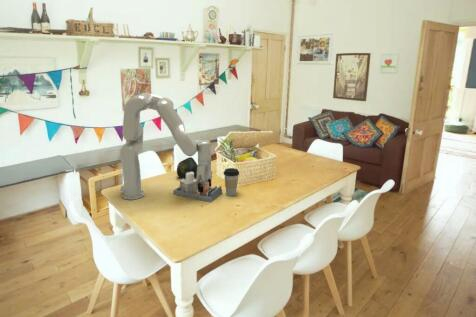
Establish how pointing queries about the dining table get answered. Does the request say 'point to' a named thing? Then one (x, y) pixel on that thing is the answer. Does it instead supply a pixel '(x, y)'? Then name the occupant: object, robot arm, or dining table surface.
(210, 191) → the pusher
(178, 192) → the tray
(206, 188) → the jar
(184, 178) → the container
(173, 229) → the dining table surface
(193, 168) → the squash
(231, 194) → the coffee cup
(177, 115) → the robot arm
